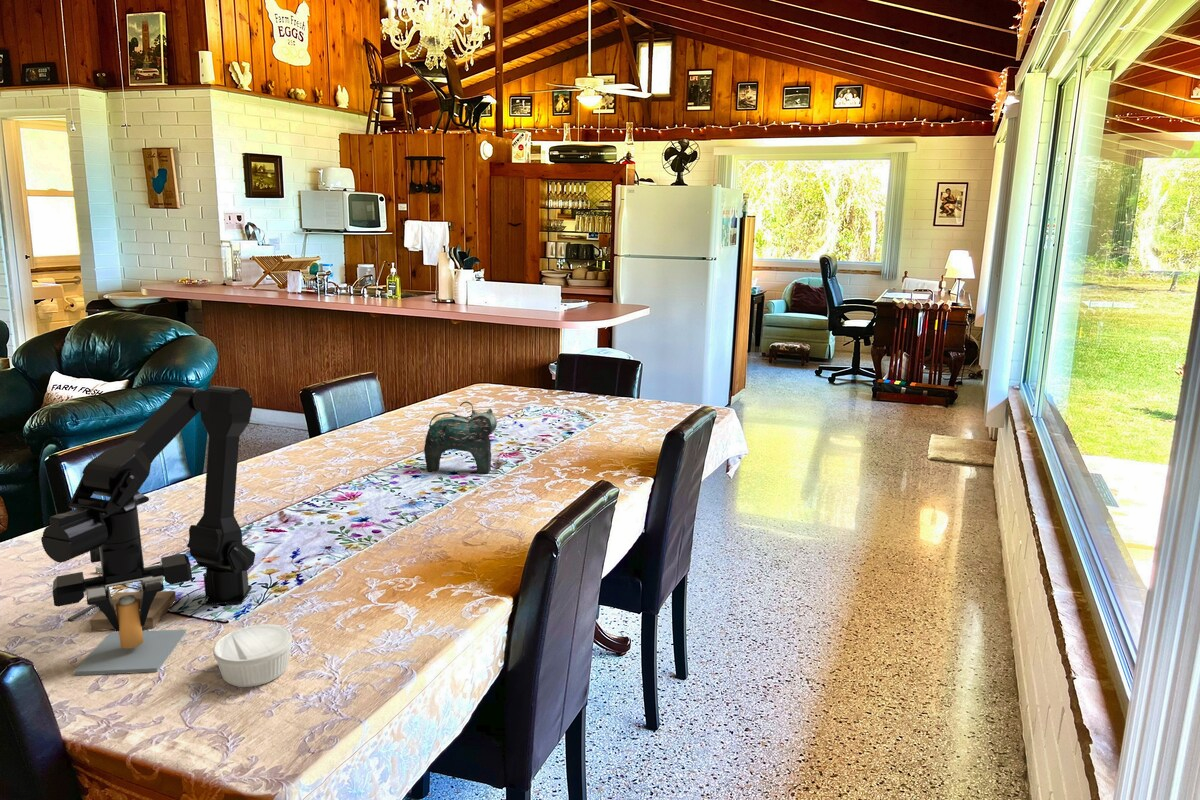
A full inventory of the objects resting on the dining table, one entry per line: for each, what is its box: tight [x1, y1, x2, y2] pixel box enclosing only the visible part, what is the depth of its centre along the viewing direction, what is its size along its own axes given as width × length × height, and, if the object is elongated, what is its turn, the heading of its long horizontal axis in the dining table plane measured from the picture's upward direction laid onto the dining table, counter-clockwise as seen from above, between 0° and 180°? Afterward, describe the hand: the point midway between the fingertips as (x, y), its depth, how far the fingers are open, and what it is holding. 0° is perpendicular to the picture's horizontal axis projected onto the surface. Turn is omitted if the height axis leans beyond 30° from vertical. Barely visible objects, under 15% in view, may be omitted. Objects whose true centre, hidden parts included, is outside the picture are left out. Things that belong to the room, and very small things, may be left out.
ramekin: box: [212, 623, 293, 688], centre depth 126 cm, size 11×11×5 cm
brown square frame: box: [89, 590, 177, 631], centre depth 143 cm, size 10×10×2 cm
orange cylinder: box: [116, 595, 143, 649], centre depth 130 cm, size 3×3×8 cm
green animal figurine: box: [423, 400, 498, 475], centre depth 223 cm, size 20×6×20 cm, turn 84°
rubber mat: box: [73, 629, 187, 676], centre depth 131 cm, size 12×12×1 cm
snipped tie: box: [67, 605, 98, 622], centre depth 144 cm, size 7×1×1 cm, turn 167°
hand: (130, 627), depth 130 cm, fingers closed on orange cylinder, 3 cm apart
